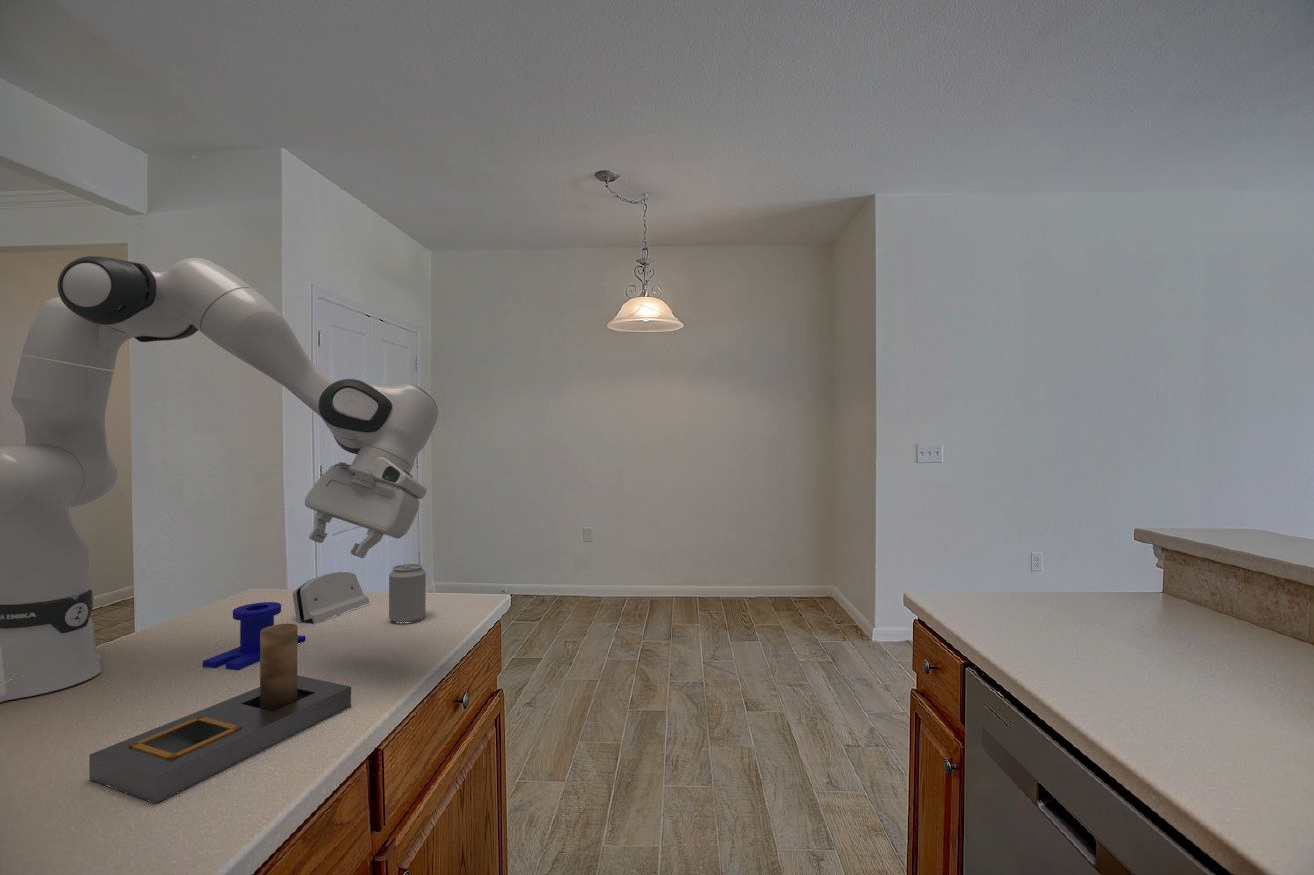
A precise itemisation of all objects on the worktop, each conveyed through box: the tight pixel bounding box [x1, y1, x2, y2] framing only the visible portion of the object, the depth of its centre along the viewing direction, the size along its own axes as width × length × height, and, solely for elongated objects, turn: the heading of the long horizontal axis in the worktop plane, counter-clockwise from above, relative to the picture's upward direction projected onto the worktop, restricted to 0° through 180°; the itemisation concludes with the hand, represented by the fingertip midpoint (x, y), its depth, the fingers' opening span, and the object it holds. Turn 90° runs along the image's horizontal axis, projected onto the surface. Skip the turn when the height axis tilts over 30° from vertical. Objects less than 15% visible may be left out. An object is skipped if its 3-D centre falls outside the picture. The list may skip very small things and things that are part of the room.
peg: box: [259, 623, 299, 712], centre depth 85 cm, size 4×4×13 cm
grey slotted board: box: [88, 674, 352, 805], centre depth 79 cm, size 12×26×3 cm, turn 159°
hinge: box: [292, 571, 371, 624], centre depth 137 cm, size 17×5×10 cm, turn 164°
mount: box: [202, 601, 306, 671], centre depth 111 cm, size 15×8×9 cm, turn 169°
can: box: [388, 563, 427, 623], centre depth 131 cm, size 8×8×12 cm
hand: (335, 548), depth 96 cm, fingers open, 8 cm apart
